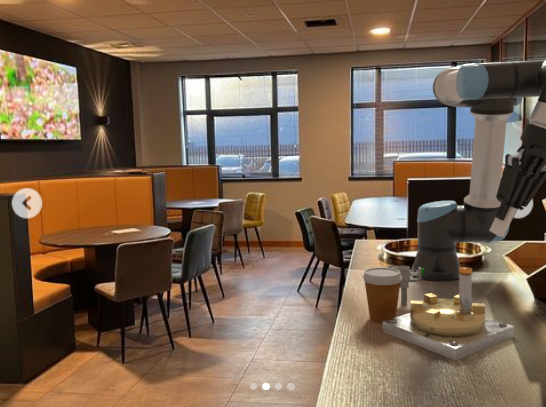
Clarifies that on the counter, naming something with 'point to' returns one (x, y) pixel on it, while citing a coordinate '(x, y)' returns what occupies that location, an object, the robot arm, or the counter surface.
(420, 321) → the brass turntable plate
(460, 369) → the counter surface
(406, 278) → the mechanical component
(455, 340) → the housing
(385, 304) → the disposable coffee cup
